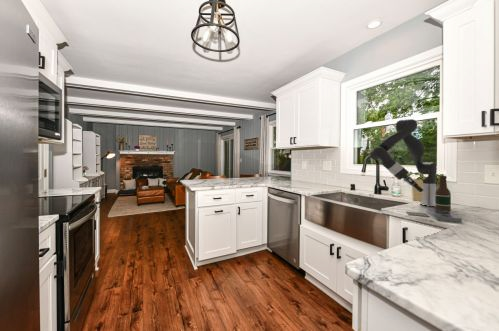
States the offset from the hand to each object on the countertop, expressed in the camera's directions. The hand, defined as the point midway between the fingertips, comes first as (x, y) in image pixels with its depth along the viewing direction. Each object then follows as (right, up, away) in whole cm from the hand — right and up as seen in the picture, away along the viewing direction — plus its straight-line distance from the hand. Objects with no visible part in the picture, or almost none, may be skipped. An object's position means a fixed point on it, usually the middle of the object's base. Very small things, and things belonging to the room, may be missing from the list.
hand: (420, 190), depth 134 cm
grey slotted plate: (+9, -15, -5) cm, 18 cm away
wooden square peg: (-2, -7, +1) cm, 7 cm away
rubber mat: (-2, -15, +1) cm, 15 cm away
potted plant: (+23, -15, +10) cm, 29 cm away
